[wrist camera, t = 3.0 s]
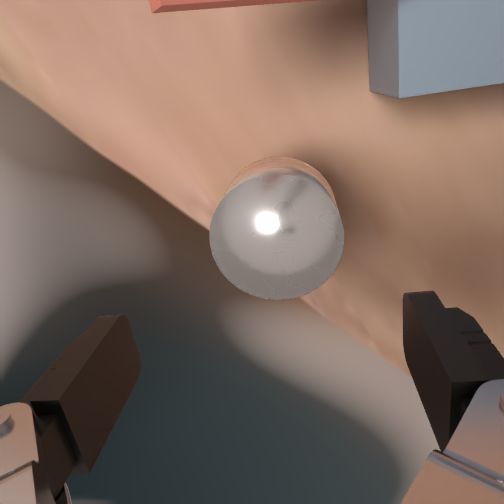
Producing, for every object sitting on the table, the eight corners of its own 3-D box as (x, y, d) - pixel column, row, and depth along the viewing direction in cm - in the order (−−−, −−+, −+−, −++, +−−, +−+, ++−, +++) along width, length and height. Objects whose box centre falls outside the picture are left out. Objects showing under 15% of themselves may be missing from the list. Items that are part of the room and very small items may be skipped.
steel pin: (323, 130, 27) (339, 165, 17) (330, 217, 29) (348, 294, 19) (233, 143, 28) (197, 183, 18) (247, 226, 30) (222, 304, 20)
